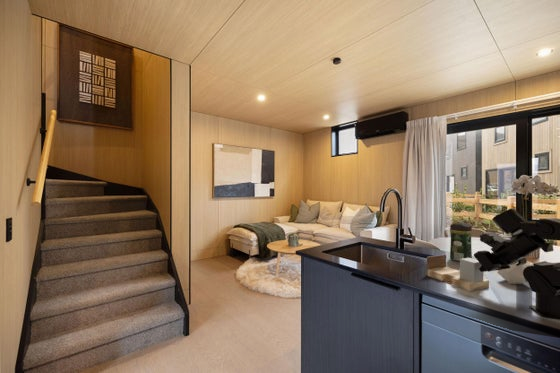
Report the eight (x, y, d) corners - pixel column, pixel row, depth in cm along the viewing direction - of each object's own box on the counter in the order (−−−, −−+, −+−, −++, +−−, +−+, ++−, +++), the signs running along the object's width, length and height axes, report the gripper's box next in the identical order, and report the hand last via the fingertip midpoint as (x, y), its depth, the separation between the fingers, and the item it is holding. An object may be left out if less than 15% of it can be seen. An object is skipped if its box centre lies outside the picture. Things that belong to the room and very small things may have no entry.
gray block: (483, 280, 91) (483, 261, 91) (474, 282, 89) (474, 262, 89) (468, 276, 95) (468, 257, 95) (459, 277, 94) (459, 258, 94)
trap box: (488, 287, 91) (489, 266, 91) (469, 291, 88) (469, 269, 88) (444, 272, 107) (444, 254, 107) (426, 275, 103) (426, 256, 103)
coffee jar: (455, 256, 131) (456, 220, 130) (474, 260, 124) (474, 222, 124) (446, 259, 125) (447, 222, 125) (465, 263, 119) (466, 224, 119)
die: (532, 290, 90) (538, 266, 93) (507, 277, 92) (514, 254, 95) (512, 290, 98) (518, 267, 101) (489, 277, 99) (496, 256, 102)
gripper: (516, 224, 87) (480, 248, 98) (480, 227, 81) (446, 252, 91) (546, 252, 80) (504, 275, 91) (510, 258, 73) (469, 282, 84)
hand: (480, 270), depth 89 cm, fingers closed
